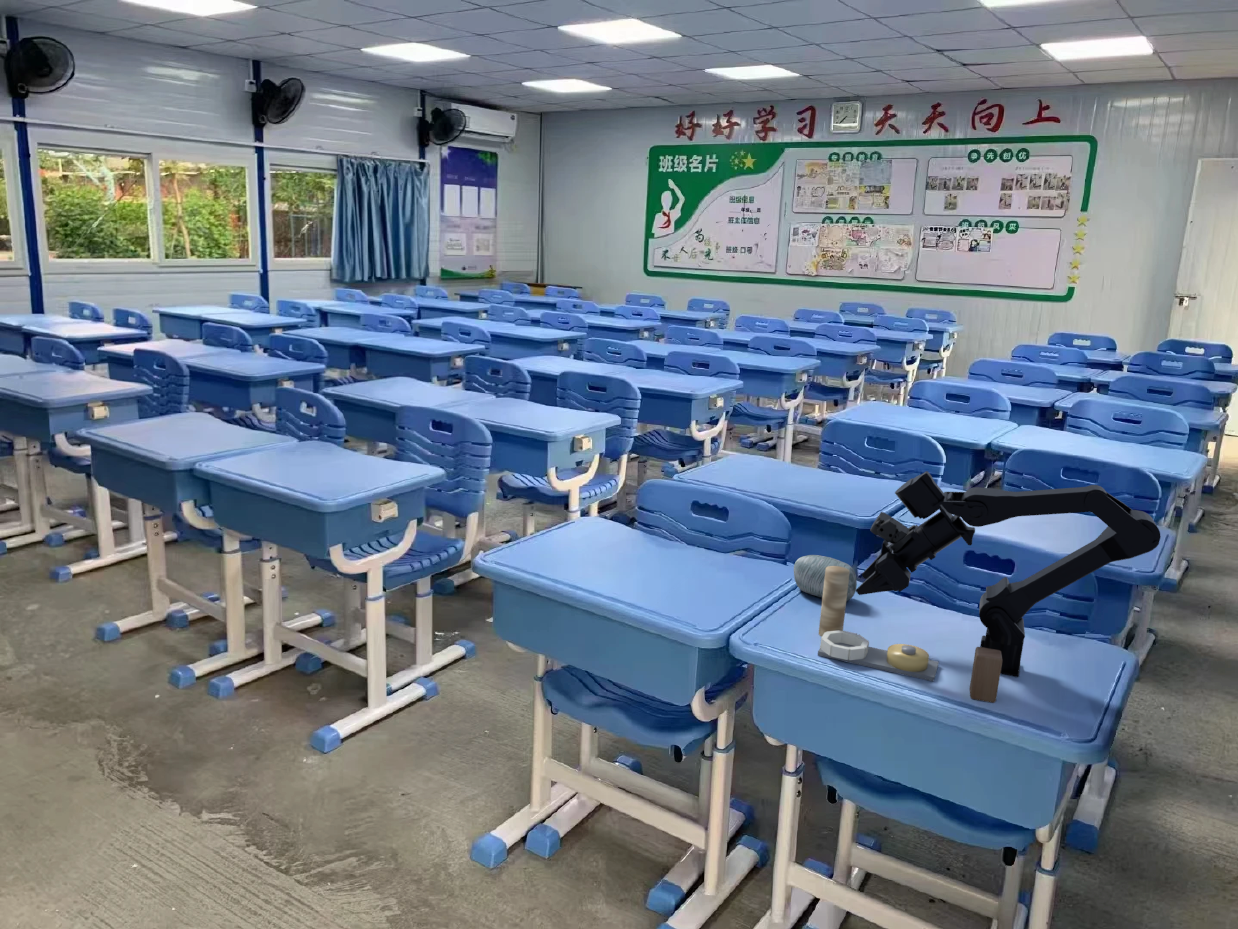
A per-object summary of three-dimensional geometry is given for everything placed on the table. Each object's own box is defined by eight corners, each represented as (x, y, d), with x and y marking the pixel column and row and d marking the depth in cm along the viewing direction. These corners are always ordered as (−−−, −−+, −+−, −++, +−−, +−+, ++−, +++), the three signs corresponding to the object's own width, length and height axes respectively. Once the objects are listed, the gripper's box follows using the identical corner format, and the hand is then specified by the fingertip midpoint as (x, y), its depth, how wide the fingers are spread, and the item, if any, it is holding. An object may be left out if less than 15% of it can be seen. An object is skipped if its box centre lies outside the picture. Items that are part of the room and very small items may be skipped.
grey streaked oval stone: (871, 584, 198) (854, 546, 194) (850, 614, 193) (833, 576, 189) (817, 580, 208) (800, 544, 205) (796, 608, 203) (778, 572, 199)
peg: (844, 633, 180) (851, 568, 177) (839, 641, 176) (847, 575, 173) (821, 628, 182) (828, 564, 179) (816, 636, 178) (823, 571, 175)
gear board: (938, 666, 168) (940, 647, 167) (932, 684, 161) (935, 664, 160) (826, 641, 176) (828, 623, 175) (816, 657, 169) (818, 638, 168)
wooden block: (969, 689, 160) (975, 645, 158) (994, 693, 159) (1001, 649, 157) (969, 699, 156) (976, 654, 154) (995, 704, 155) (1003, 659, 153)
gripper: (905, 490, 178) (839, 536, 184) (897, 515, 161) (825, 565, 167) (943, 536, 177) (876, 581, 184) (939, 566, 160) (865, 615, 167)
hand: (860, 584), depth 175 cm, fingers open, 9 cm apart
